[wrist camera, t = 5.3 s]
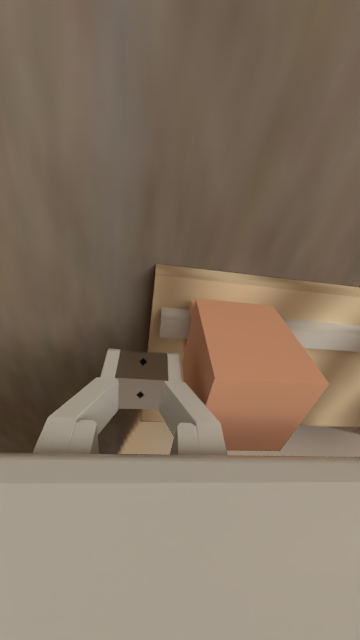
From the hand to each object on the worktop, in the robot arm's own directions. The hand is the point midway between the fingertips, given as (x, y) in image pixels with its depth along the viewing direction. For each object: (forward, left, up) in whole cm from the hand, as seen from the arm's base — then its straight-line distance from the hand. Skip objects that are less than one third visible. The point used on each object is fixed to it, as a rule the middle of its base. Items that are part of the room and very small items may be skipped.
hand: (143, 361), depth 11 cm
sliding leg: (-4, +2, -4) cm, 6 cm away
